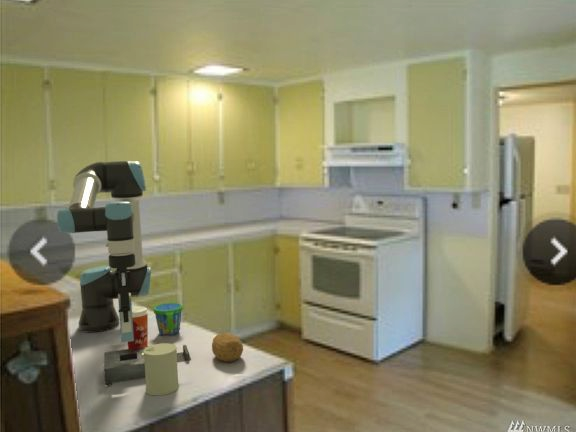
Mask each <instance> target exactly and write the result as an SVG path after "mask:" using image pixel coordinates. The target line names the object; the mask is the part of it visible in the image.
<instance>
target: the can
mask: <svg viewBox="0 0 576 432" xmlns="http://www.w3.org/2000/svg"><path fill="white" fill-rule="evenodd" d="M177 349H178V347H177V346H176V344H173V343H165V342H161V343H156V344H151V345H149V347H147V348H145V349H144V351H143V352H144V361H145V377H146V378H145V392H146V393H147V394H148V395H152V396H163V395H164V396H165V395H169V394H172V393H174V392H176V391H177V390H178V389H179V388H180V384H179V374H178V373H179V372H178V362H177V353H178V352H177Z"/></svg>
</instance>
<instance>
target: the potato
mask: <svg viewBox="0 0 576 432" xmlns="http://www.w3.org/2000/svg"><path fill="white" fill-rule="evenodd" d="M211 350H212V353H213V355H214V356H215V357H216V358H217V359H218V360H220V361H223V362H228V363H230V362H234V361H235V362H236V361H237V360H238V359H239V358H240V357H241V356H242V355H243V352H244V345H243V343H242V341H241V339H240V338H239V337H238V336H237V335H234V334H231V333H228V332H222V333H218V334H216V335H215V336H214V338H213V339H212V343H211Z"/></svg>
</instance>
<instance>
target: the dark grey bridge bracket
mask: <svg viewBox="0 0 576 432" xmlns="http://www.w3.org/2000/svg"><path fill="white" fill-rule="evenodd" d="M188 361H189V362H190V361H192V358H191V355H190V352H189V349H188V346H187V344H183V345H182V352H177V363H183V362H188Z"/></svg>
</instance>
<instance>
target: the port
mask: <svg viewBox="0 0 576 432" xmlns="http://www.w3.org/2000/svg"><path fill="white" fill-rule="evenodd" d="M149 346H150V345H149ZM149 346H147V347H149ZM147 347H140V348H132V349H128V348H126V349H120V350H119V349H118V350H112V351H105V352H104V354H103V355H104V359H103V377H104V386H105V387H106V386H107V385H108V386H112V385H113V384H114V383H121V382H126V381H133V380H140V379H146V377H145V361H144V352H143V351H144V349H145V348H147ZM108 386H107V387H108Z"/></svg>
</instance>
